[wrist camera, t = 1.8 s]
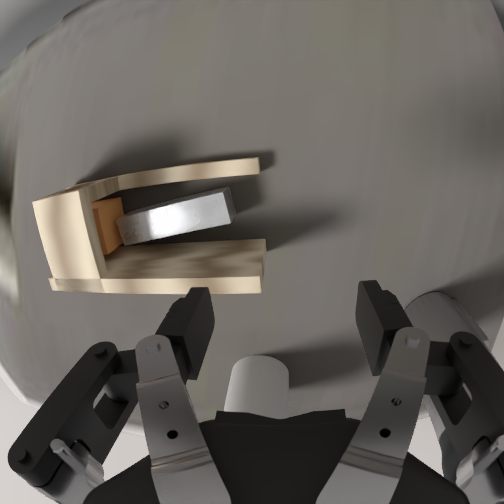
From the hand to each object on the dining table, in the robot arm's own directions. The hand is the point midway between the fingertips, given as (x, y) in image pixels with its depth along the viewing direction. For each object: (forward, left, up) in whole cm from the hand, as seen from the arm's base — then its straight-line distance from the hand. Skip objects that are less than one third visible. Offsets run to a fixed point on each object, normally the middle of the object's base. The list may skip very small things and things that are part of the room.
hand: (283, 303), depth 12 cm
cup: (+4, +24, -18) cm, 30 cm away
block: (+21, 0, -18) cm, 27 cm away
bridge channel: (+14, 0, -18) cm, 22 cm away
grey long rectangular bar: (+11, 0, -18) cm, 21 cm away
